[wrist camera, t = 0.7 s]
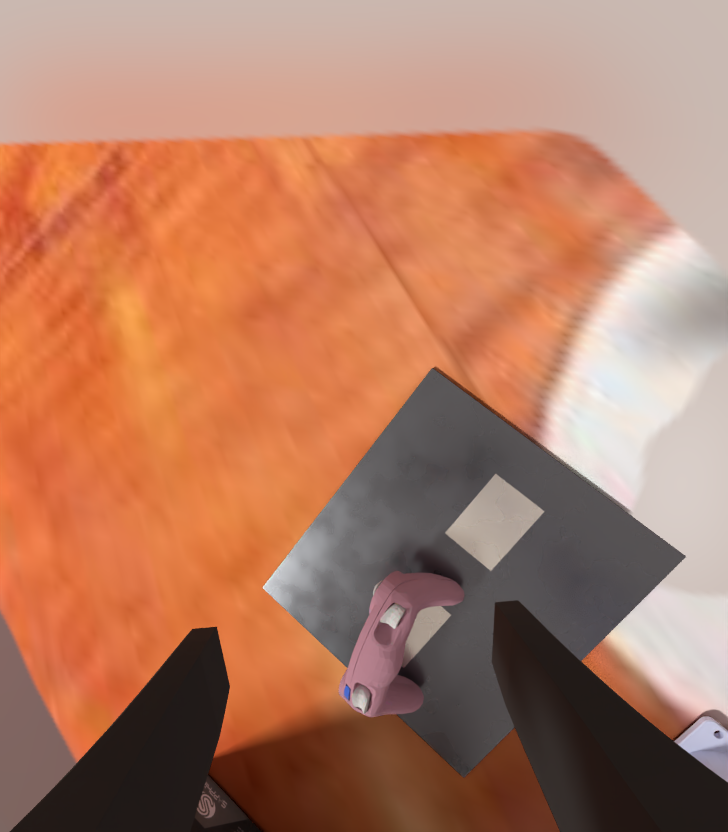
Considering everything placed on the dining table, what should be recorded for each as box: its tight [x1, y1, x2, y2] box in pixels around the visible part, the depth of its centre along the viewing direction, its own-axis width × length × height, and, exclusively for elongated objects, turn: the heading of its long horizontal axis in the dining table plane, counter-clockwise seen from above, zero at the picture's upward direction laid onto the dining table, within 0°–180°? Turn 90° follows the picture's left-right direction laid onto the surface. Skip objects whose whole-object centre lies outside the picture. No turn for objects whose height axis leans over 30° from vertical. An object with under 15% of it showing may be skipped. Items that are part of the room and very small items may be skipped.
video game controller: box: [339, 571, 465, 717], centre depth 25 cm, size 10×5×7 cm, turn 161°
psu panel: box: [263, 368, 685, 778], centre depth 27 cm, size 20×22×1 cm
